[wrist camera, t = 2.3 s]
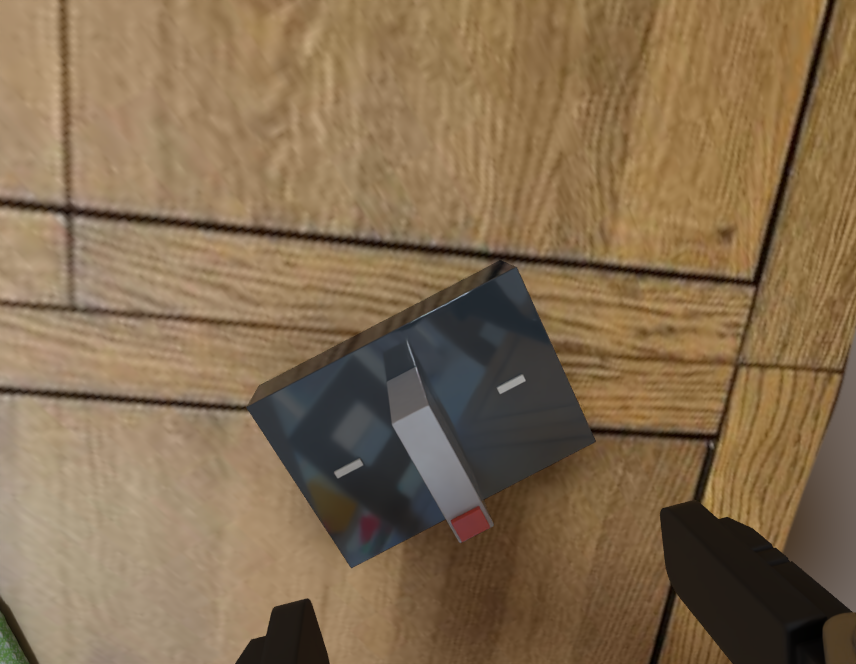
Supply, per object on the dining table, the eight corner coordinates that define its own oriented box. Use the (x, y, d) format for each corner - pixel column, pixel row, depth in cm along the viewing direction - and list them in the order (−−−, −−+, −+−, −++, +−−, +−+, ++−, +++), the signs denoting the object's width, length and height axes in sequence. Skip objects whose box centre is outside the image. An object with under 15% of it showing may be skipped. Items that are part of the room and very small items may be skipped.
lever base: (500, 259, 27) (517, 266, 24) (573, 418, 30) (597, 443, 27) (258, 385, 27) (245, 408, 24) (352, 533, 30) (351, 570, 27)
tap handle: (386, 381, 25) (391, 427, 20) (416, 366, 25) (429, 407, 20) (442, 482, 27) (460, 548, 21) (471, 467, 26) (496, 529, 21)
